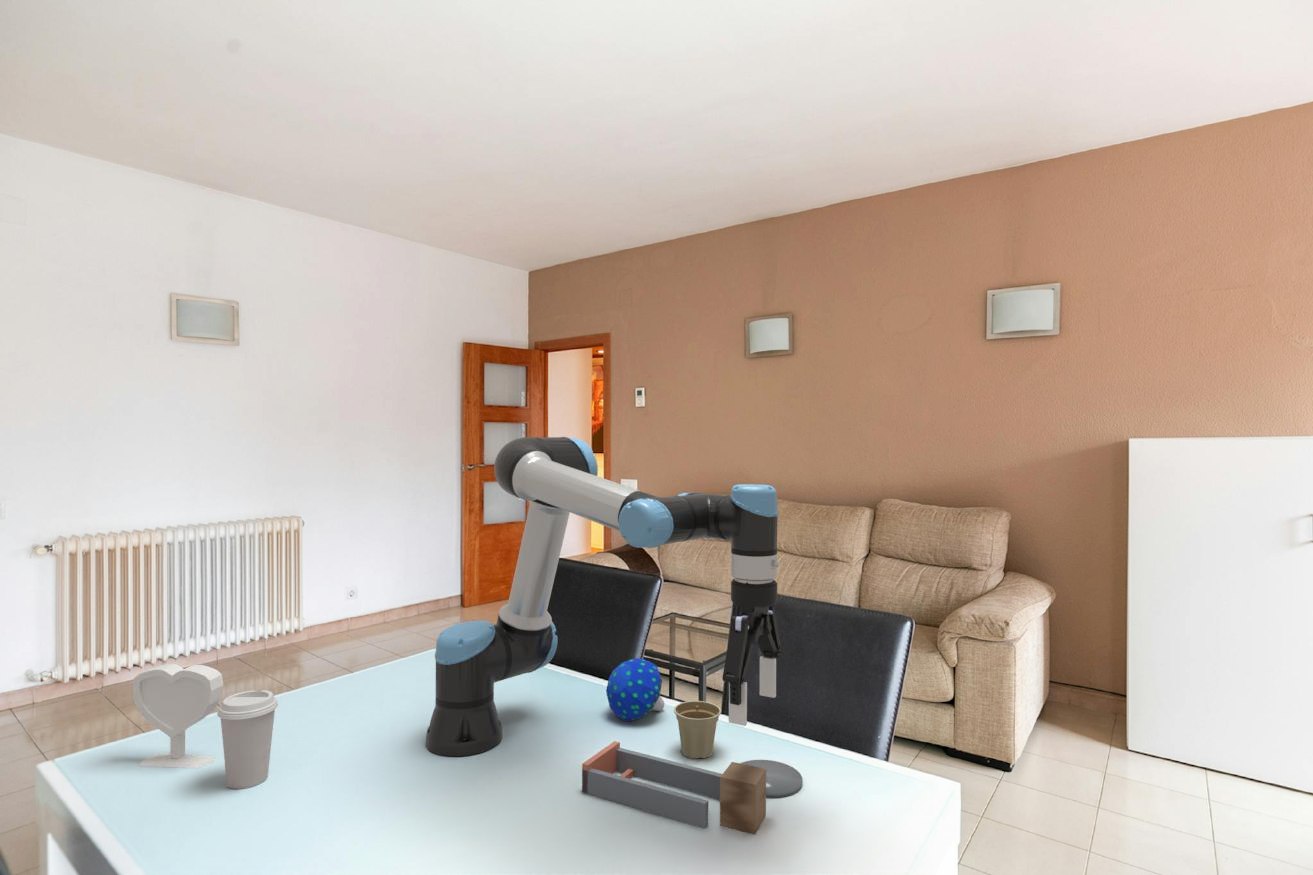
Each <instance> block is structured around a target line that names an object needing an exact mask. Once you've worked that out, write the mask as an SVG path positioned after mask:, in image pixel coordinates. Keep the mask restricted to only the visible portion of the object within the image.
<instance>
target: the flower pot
mask: <svg viewBox="0 0 1313 875" xmlns="http://www.w3.org/2000/svg"><path fill="white" fill-rule="evenodd" d="M673 712H674V714H675V717H676V720H677V723H678V732H679V742H680V749H681V753H682V754H683V755H684V757H687V758H690V759H694V760H695V759H696V760H697V759H699V758H702V759H706V758H709V757H710V756H711V755H712V754H713V751H714V743H715V736H716V729H717V723H718V721H719V718H720V715H721V714H722V709H721V708H720V706H718V705H717V704H714V703H712V702H709V701H703V700H702V701H701V700H689V701H688V700H687V701H683V702H680V703H678V704H676V705H675V706H674V707H673Z"/></svg>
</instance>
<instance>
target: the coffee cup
mask: <svg viewBox="0 0 1313 875" xmlns="http://www.w3.org/2000/svg"><path fill="white" fill-rule="evenodd" d="M278 707H279V703H278V700H277V698H276V697H275V696H274V693H273V692H272V691H270V690H267V689H266V690H265V689H255V690H254V689H253V690H246V691H242V692H241V691H240V692H237V693H233V694H231V695H228V696H227V697H226V698H224V699H223V700H222V704H221V705H220V706H219V708H218V711H217V714H216V715H217V717H218V718H220V725H221V727H220V728H221V737H222V746H223V758H224V768H225V770H224V771H225V781H226V786H227V788H229V789H233V790H243V789H250V788H253V787H256V786H258V785H260V784H263V783H264V782H265V781H266V780H267V779H268V777H269V769H270V761H271V760H270V759H271V758H270V757H271V751H272V750H271V748H272V740H273V729H274V720H275V712H276V711H275V710H276V709H277V708H278Z"/></svg>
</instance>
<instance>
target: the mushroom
mask: <svg viewBox="0 0 1313 875" xmlns="http://www.w3.org/2000/svg"><path fill="white" fill-rule="evenodd" d="M658 668H659V667H658V666H657V664H655V663H653V662H651V661H650V660H646V659H644V658H640V657H639V658H638V657H637V658H631V659H628V660H626V661H623V662H621V663H620V664H619V665H618V666H617V667H615V668H614V669H613V670H612V672H611V674H610V676H609V677H608V681H607V685H606V689H605V691H606V692H605V693H606V696H607V701H608V705H609V708H610V709H611V711H612V713H613V714H614V715H615V716H617V717H619V718H620V719H621V720H622V721H624V722H632V721H636V720H640V719H643V718H644V717H645V716H646V715H648V713H649V712H650V711H655V712H661V711H662V710H663V709H664V707H665V701H664V700H663V698H662V697H661V692H662V687H663V686H662V684H663V679H662V677H661V674H660V671H659V669H658Z"/></svg>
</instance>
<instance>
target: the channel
mask: <svg viewBox="0 0 1313 875" xmlns="http://www.w3.org/2000/svg"><path fill="white" fill-rule="evenodd" d="M581 766H582V767H581V792H582V793H585V794H589V795H591V796H595V797H598V798H601V799H604V800H608V801H612V802H615V803H617V804H622V805H623V806H624V805H625V806H628V807H631V808H634V809H638V810H641V811H645V812H648V813H651V814H655V815H657V816H662V817H665V818H667V819H672V820H674V821H677V822H681V823H685V824H687V825H691V826H695V827H698V828H701V829H705V830H706V828H707V827H708V826H709V804H710V802H709V800H708V799H705V798H699V797H697V796H696V797H695V796H693V795H688V794H686V793H683V792H679V791H675V790H672V789H668V788H665V787H660V786H658V785H653V784H649V783H646V782H642V781H639V780H636V779H633V777H636V778H639V779H642V780H647V781H650V782H654V783H658V784H661V785H664V786H665V785H666V786H668V787H672V788H675V789H678V790H683V791H687V792H690V793H693V794H696V795H697V794H698V795H702V796H705V797H708V798H712V799H716V800H719V801H720V777H721V775H722V774H723V773H722V772H716V771H714V770H713V771H712V770H709V769H705V768H701V767H697V766H693V765H691V764H685V763H682V762H678V761H675V760H674V761H673V760H669V759H665V758H661V757H658V756H653V755H650V754H646V753H643V752H639V751H634V750H631V749H628V748H627V749H626V748H623V747H621V742H619V741H618V740H616V741H615V740H614V741H613V742H611V743H609V744H608V745H607V746H605V747H604V748H603V749H601V750H600V751H598V752H596V753H595V754H594V755H592V756H591V757H590V758H588V759H587V760H586V761H584V762H583V763H581ZM617 772H618V773H621V774H620V775H619V774H618V775H617V774H615V773H617Z"/></svg>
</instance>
